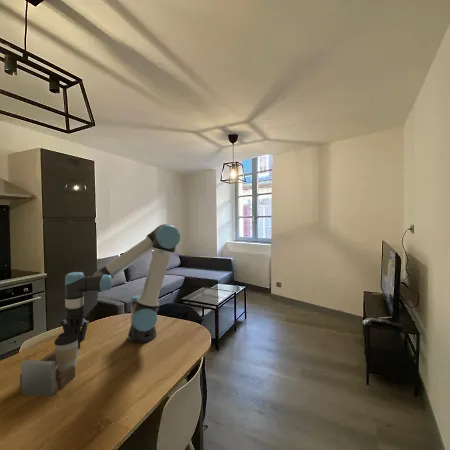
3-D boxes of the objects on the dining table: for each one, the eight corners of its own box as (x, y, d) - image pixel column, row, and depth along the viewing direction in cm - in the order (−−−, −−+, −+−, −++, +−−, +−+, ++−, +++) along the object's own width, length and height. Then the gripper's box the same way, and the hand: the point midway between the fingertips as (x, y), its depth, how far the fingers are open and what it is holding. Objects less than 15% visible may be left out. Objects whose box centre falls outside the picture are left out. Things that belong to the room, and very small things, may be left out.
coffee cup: (83, 364, 114) (83, 331, 114) (65, 376, 106) (64, 341, 105) (69, 360, 117) (68, 328, 117) (50, 372, 108) (49, 337, 108)
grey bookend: (55, 392, 96) (55, 361, 95) (51, 396, 94) (51, 364, 93) (26, 390, 97) (25, 360, 96) (21, 394, 95) (21, 363, 94)
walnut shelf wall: (89, 363, 115) (89, 350, 115) (59, 391, 96) (58, 376, 96) (57, 361, 116) (56, 348, 116) (20, 389, 97) (19, 374, 97)
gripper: (93, 303, 119) (93, 352, 120) (67, 302, 121) (68, 351, 121) (82, 309, 112) (83, 361, 113) (55, 308, 113) (56, 359, 114)
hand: (75, 356), depth 117 cm, fingers closed
